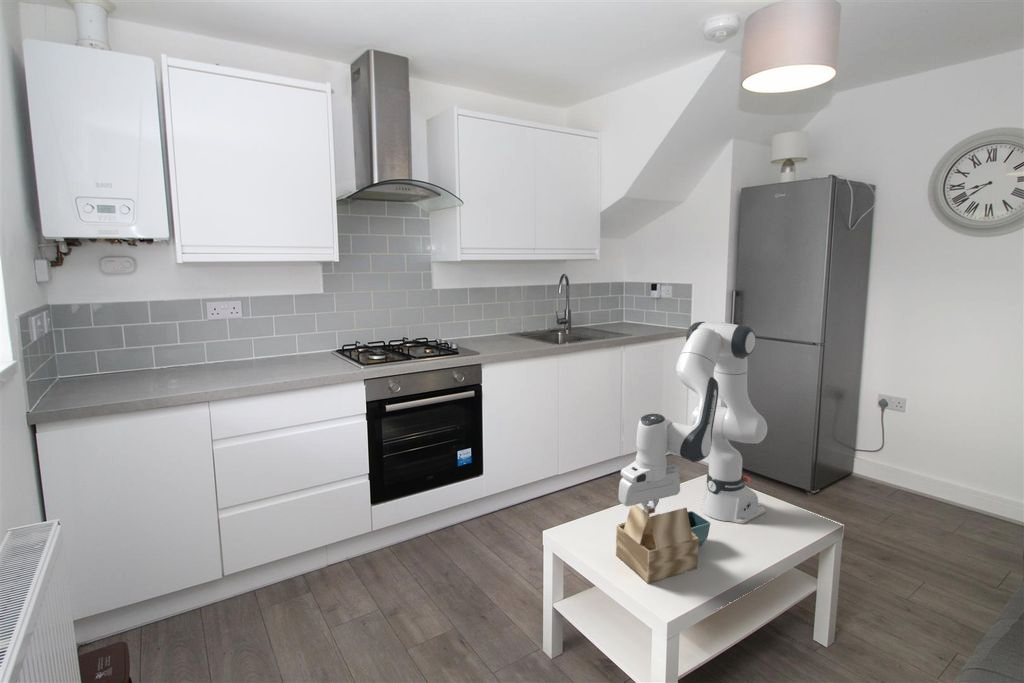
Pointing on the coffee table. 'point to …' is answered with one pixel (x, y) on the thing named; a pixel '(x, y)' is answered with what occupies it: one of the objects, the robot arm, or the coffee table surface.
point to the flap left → (671, 528)
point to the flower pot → (699, 527)
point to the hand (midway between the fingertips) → (649, 512)
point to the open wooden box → (655, 555)
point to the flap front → (636, 523)
